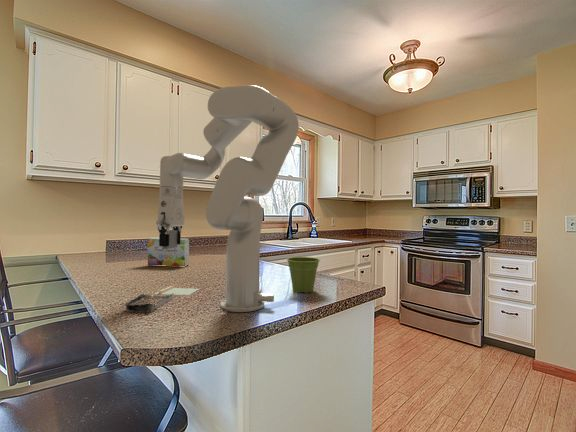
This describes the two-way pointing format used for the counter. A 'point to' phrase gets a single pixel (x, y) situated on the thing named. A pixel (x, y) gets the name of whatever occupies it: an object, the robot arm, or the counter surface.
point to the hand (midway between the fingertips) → (170, 244)
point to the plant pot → (303, 273)
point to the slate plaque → (172, 239)
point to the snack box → (168, 253)
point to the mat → (176, 291)
